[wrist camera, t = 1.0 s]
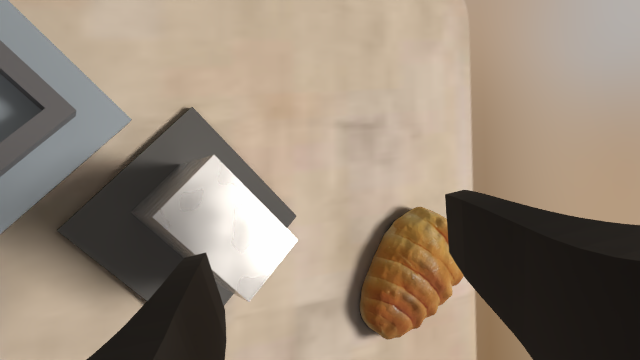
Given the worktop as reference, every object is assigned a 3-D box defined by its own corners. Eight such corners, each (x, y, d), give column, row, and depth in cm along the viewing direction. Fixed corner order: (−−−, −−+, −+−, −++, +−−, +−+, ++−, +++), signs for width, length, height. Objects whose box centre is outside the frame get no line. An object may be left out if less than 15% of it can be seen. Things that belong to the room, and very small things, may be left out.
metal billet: (208, 278, 23) (249, 302, 18) (130, 212, 21) (152, 217, 16) (249, 231, 25) (298, 239, 19) (180, 164, 23) (214, 154, 18)
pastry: (391, 352, 31) (429, 370, 27) (334, 297, 28) (368, 309, 25) (449, 251, 34) (489, 257, 31) (403, 195, 32) (441, 195, 29)
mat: (194, 337, 23) (196, 339, 23) (57, 230, 20) (57, 230, 20) (293, 215, 27) (296, 216, 26) (190, 108, 23) (192, 106, 23)
